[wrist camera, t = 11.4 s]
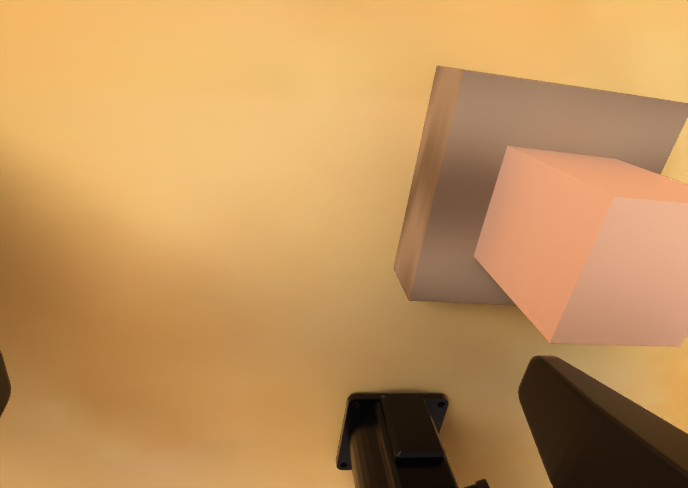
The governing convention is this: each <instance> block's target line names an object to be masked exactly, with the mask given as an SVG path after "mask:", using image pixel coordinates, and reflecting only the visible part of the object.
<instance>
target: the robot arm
mask: <svg viewBox="0 0 688 488" xmlns="http://www.w3.org/2000/svg"><path fill="white" fill-rule="evenodd" d="M10 393H11V384H10V380H9V377H8V373H7V370H6V366H5V362H4V359H3V355H2V352H1V350H0V417H1V415H2V413H3V411H4V409H5V407H6V405H7V403H8V401H9V398H10ZM518 395H519V400H520V403H521V406H522V409H523V411H524V414H525V417H526V419H527V422H528V425H529V427H530V430H531V433H532V435H533V438H534V440H535V443H536V446H537V448H538V451H539V454H540V456H541V459H542V462H543V464H544V467H545V469H546V472H547V474H548V477H549V479H550V481H551V484H552V486H553V488H688V434H687V433H685V432H684V431H682V430H680V429H678V428H677V427H675V426H673V425H672V424H670V423H668V422H667V421H665V420H663V419H662V418H660V417H658V416H656V415H655V414H653V413H651V412H650V411H648V410H646V409H645V408H643V407H641V406H640V405H638V404H636V403H634V402H633V401H631V400H629V399H628V398H626V397H624V396H623V395H621V394H619V393H617V392H616V391H614V390H612V389H611V388H609V387H607V386H606V385H604V384H602V383H601V382H599V381H597V380H595V379H594V378H592V377H590V376H589V375H587V374H585V373H584V372H582V371H580V370H579V369H577V368H575V367H573V366H572V365H570V364H568V363H567V362H565V361H563V360H562V359H560V358H558V357H555V356H534V357H533V358H532V359H531V360H530V362H529V364H528V367H527V369H526V371H525V374H524V376H523V378H522V381H521V383H520V386H519V391H518ZM354 402H357V403H354ZM447 407H448V400H447V398H446V396H445V395H444V394H353V395H351V396H349V397H348V399H347V404H346V409H345V414H344V420H343V425H342V430H341V436H340V441H339V446H338V452H337V457H336V464H337V468H338V469H340V470H352V471H353V477H354V484H355V488H459V487H458V484H457V482H456V479H455V477H454V474H453V471H452V469H451V466H450V464H449V461H448V459H447V456H446V453H445V449H444V447H443V444H442V442H441V439H440V437H439V431H440V428H441V425H442V422H443V419H444V416H445V413H446V410H447ZM475 483H476V484H474V485H471V486H467V487H464V488H490V487H489V485H488V483H487V481H486V480H485V479H483V480H479V481H476V482H475Z"/></svg>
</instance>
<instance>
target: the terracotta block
mask: <svg viewBox="0 0 688 488" xmlns="http://www.w3.org/2000/svg"><path fill="white" fill-rule="evenodd" d="M474 257H475V259H476V260H477V261H478V262H479V263H480V264H481V265H482V266H483V268H484V269H485V270H486V271H487V272H488V273H489V274H490V276H491V277H492V278H493V279H494V280H495V281H496V282H497V284H498V285H499V286H500V287H501V288H502V289H503V290H504V292H505V293H506V294H507V295H508V296H509V297H510V298H511V299H512V301H513V302H514V303H515V304H516V305H517V306H518V307H519V309H520V310H521V311H522V312H523V313H524V314H525V315H526V317H527V318H528V319H529V320H530V321H531V322H532V323H533V325H534V326H535V327H536V328H537V329H538V330H539V331H540V332H541V334H542V335H543V336H544V337H545V338H546V339H547V340H548V342H549V343H561V344H597V345H633V346H669V347H680V346H681V345H682V343H683V341H684V340H685V338H686V336H687V335H688V184H685V183H682V182H679V181H676V180H674V179H671V178H668V177H665V176H662V175H660V174H657V173H654V172H651V171H648V170H645V169H643V168H640V167H637V166H634V165H631V164H629V163H626V162H623V161H620V160H617V159H613V158H604V157H596V156H588V155H579V154H571V153H563V152H554V151H546V150H538V149H529V148H521V147H513V146H507V149H506V152H505V155H504V158H503V162H502V165H501V168H500V171H499V175H498V178H497V181H496V185H495V188H494V191H493V194H492V198H491V201H490V204H489V207H488V211H487V214H486V217H485V220H484V224H483V227H482V230H481V233H480V237H479V240H478V243H477V247H476V250H475V253H474Z"/></svg>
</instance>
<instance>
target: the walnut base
mask: <svg viewBox="0 0 688 488" xmlns="http://www.w3.org/2000/svg"><path fill="white" fill-rule="evenodd" d="M687 117H688V103H682V102H676V101H669V100H663V99H656V98H650V97H644V96H637V95H630V94H624V93H617V92H610V91H603V90H597V89H590V88H583V87H577V86H570V85H563V84H556V83H550V82H543V81H536V80H530V79H523V78H516V77H509V76H503V75H496V74H489V73H483V72H476V71H469V70H462V69H456V68H449V67H442V66H437V68H436V73H435V78H434V82H433V87H432V92H431V96H430V101H429V106H428V110H427V115H426V120H425V124H424V129H423V134H422V139H421V143H420V148H419V153H418V157H417V162H416V167H415V171H414V176H413V181H412V185H411V190H410V195H409V200H408V204H407V209H406V214H405V218H404V223H403V228H402V232H401V237H400V242H399V246H398V251H397V256H396V261H395V265H394V271H395V273H396V275H397V277H398V279H399V281H400V283H401V285H402V287H403V289H404V291H405V293H406V295H407V298H408V300H409V301H430V302H454V303H477V304H501V305H516V304H515V303H514V302H513V301H512V299H511V298H510V297H509V296H508V295H507V294H506V293H505V292H504V290H503V289H502V288H501V287H500V286H499V285H498V284H497V282H496V281H495V280H494V279H493V278H492V277H491V276H490V274H489V273H488V272H487V271H486V270H485V269H484V268H483V266H482V265H481V264H480V263H479V262H478V261H477V260H476V259H475V257H474V253H475V250H476V247H477V243H478V240H479V237H480V233H481V230H482V227H483V224H484V220H485V217H486V214H487V211H488V207H489V204H490V201H491V198H492V194H493V191H494V188H495V185H496V181H497V178H498V175H499V171H500V168H501V165H502V162H503V158H504V155H505V152H506V149H507V146H513V147H521V148H529V149H538V150H546V151H554V152H563V153H571V154H579V155H588V156H596V157H604V158H613V159H617V160H620V161H623V162H626V163H629V164H631V165H634V166H637V167H640V168H643V169H645V170H648V171H651V172H654V173H657V174H661V172H662V170H663V168H664V166H665V163H666V161H667V159H668V157H669V155H670V153H671V151H672V149H673V147H674V145H675V142H676V140H677V138H678V136H679V134H680V132H681V130H682V128H683V126H684V124H685V121H686V119H687Z"/></svg>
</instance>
